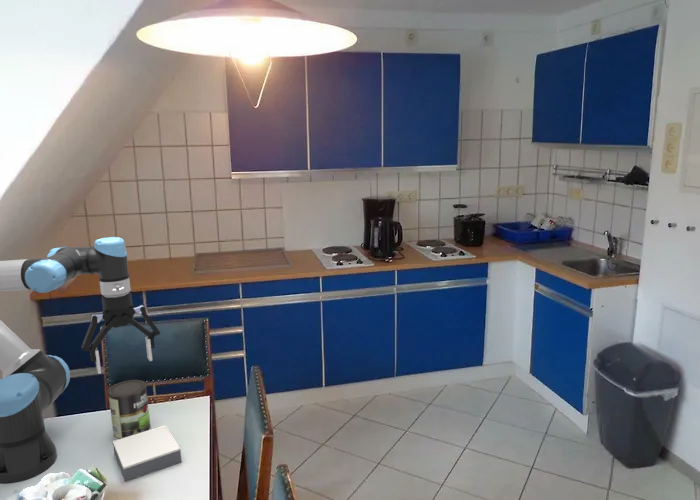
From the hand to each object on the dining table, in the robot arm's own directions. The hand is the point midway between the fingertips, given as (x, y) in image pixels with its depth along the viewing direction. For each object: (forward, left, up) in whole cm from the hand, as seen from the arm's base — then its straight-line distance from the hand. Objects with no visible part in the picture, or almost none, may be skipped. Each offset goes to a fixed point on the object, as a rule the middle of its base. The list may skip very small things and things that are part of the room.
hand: (125, 365), depth 148 cm
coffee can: (0, 0, -21) cm, 21 cm away
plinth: (+16, 0, -21) cm, 26 cm away
